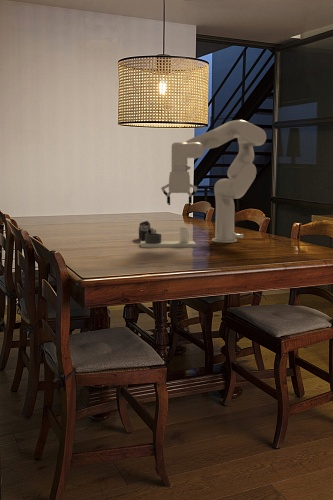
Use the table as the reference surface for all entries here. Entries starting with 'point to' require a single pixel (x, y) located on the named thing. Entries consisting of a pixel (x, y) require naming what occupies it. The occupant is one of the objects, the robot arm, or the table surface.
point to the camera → (145, 230)
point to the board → (169, 244)
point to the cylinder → (184, 235)
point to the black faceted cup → (153, 238)
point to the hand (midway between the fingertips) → (179, 205)
